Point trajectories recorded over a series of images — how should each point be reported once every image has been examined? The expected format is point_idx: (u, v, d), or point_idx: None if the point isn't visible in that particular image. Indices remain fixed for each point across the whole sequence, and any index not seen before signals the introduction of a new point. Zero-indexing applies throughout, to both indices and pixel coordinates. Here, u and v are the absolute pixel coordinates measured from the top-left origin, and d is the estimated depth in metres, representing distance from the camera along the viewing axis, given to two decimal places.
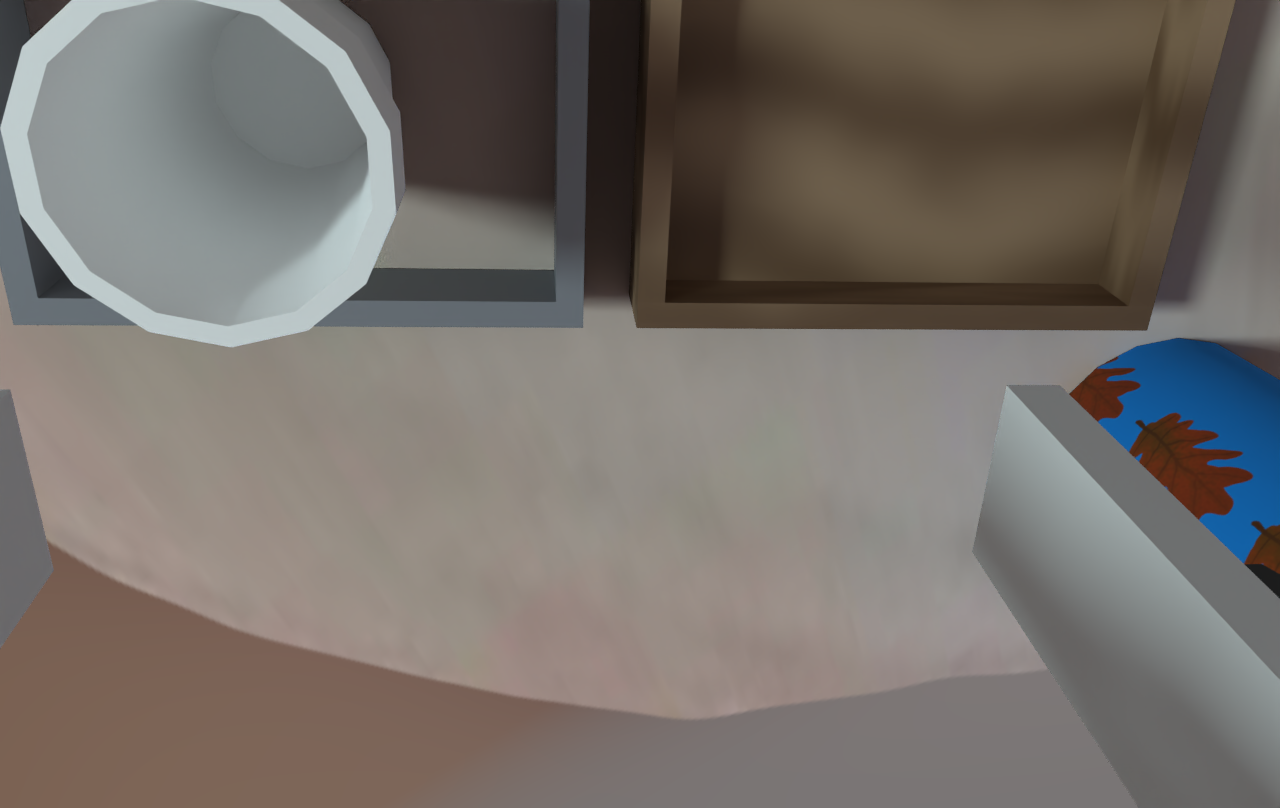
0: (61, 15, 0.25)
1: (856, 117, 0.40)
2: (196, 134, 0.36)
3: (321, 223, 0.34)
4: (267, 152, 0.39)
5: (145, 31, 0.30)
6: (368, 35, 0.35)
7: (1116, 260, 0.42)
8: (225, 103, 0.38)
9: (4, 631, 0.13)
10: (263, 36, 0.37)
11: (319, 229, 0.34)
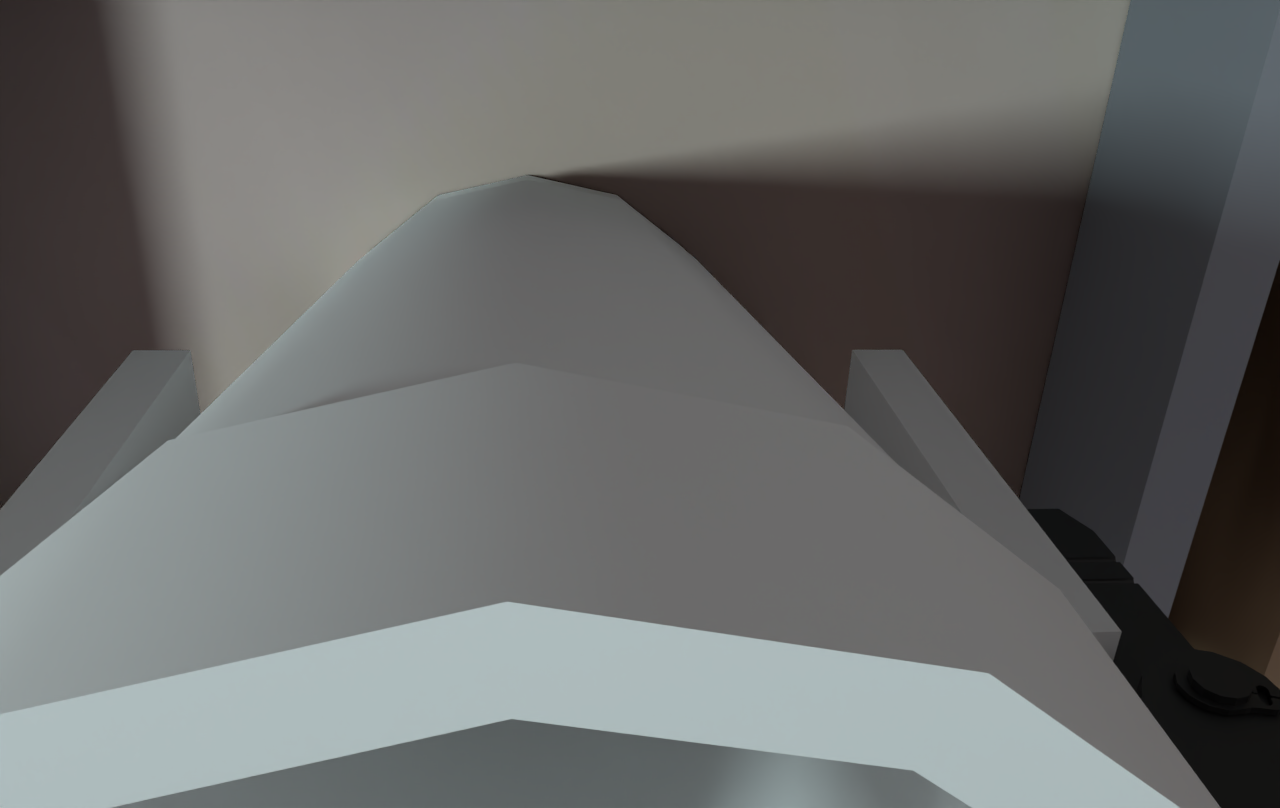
0: None
1: None
2: None
3: None
4: None
5: None
6: None
7: None
8: None
9: None
10: None
11: None
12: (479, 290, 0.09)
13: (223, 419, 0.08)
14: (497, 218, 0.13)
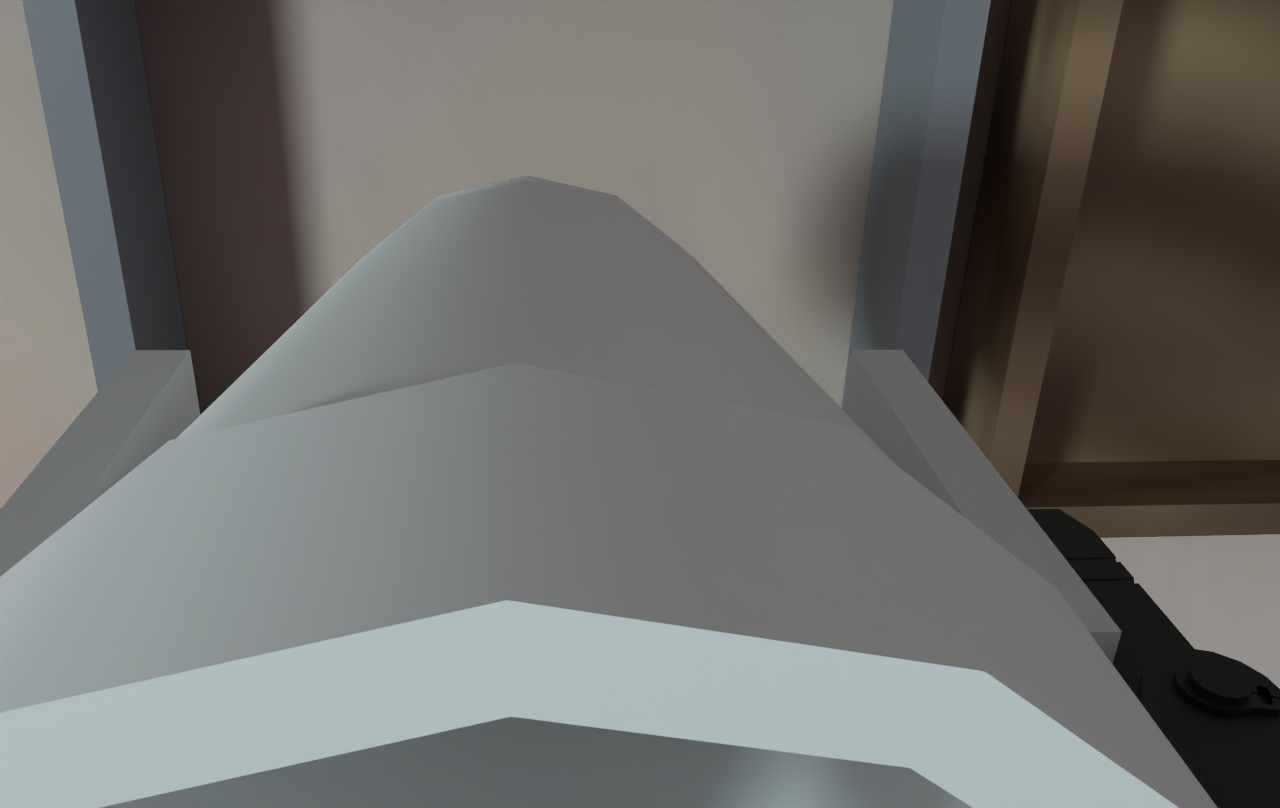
0: None
1: (1272, 252, 0.29)
2: None
3: None
4: None
5: None
6: None
7: None
8: None
9: None
10: None
11: None
12: (479, 289, 0.09)
13: (224, 419, 0.08)
14: (497, 219, 0.13)
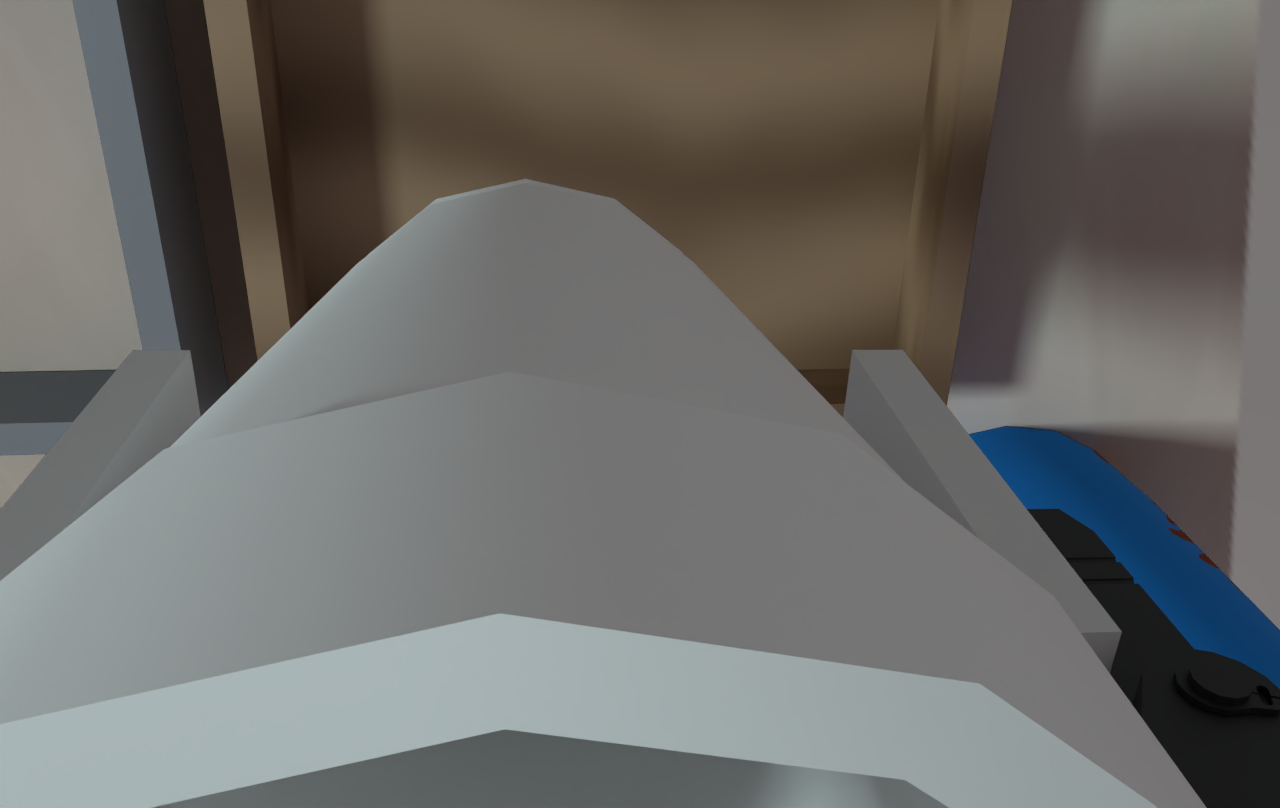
0: None
1: (545, 171, 0.31)
2: None
3: None
4: None
5: None
6: None
7: (903, 341, 0.33)
8: None
9: None
10: None
11: None
12: (475, 296, 0.09)
13: (220, 426, 0.08)
14: (495, 223, 0.13)
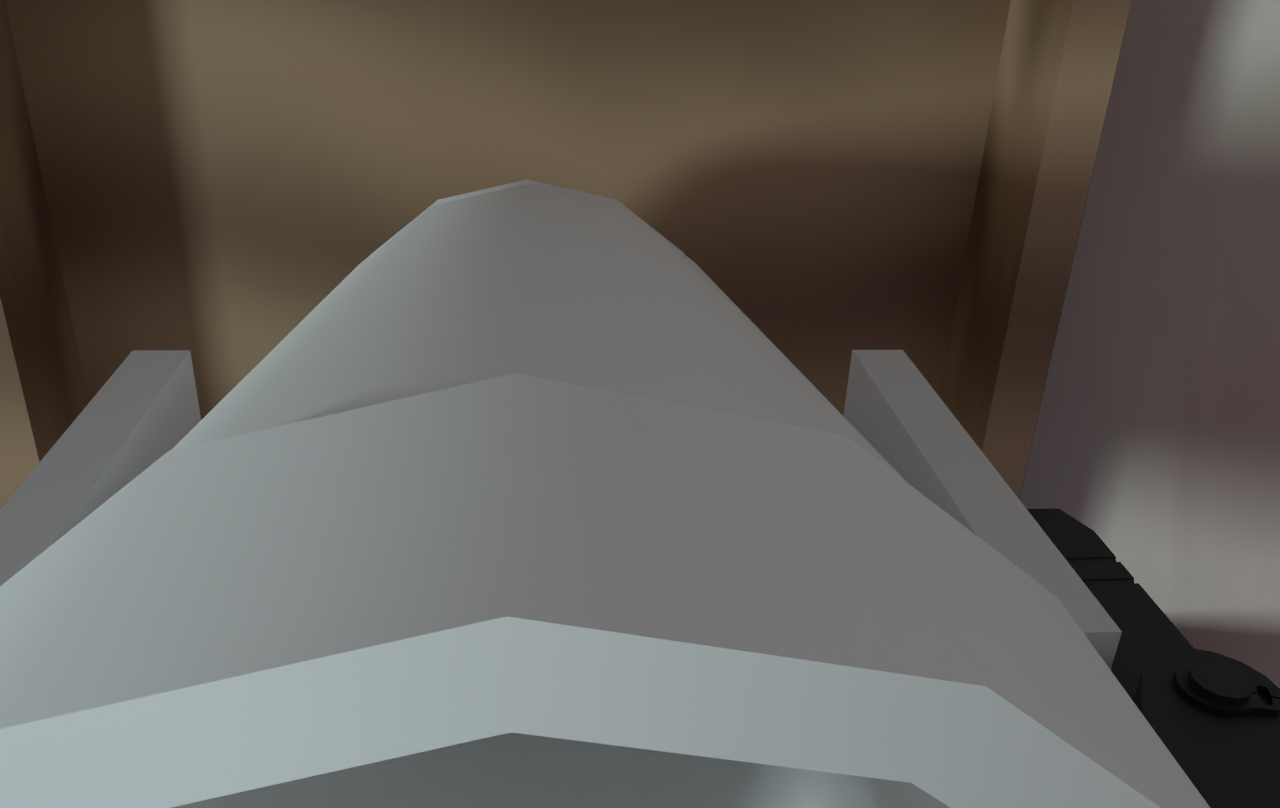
0: None
1: None
2: None
3: None
4: None
5: None
6: None
7: None
8: None
9: None
10: None
11: None
12: (479, 297, 0.09)
13: (223, 428, 0.08)
14: (497, 224, 0.13)
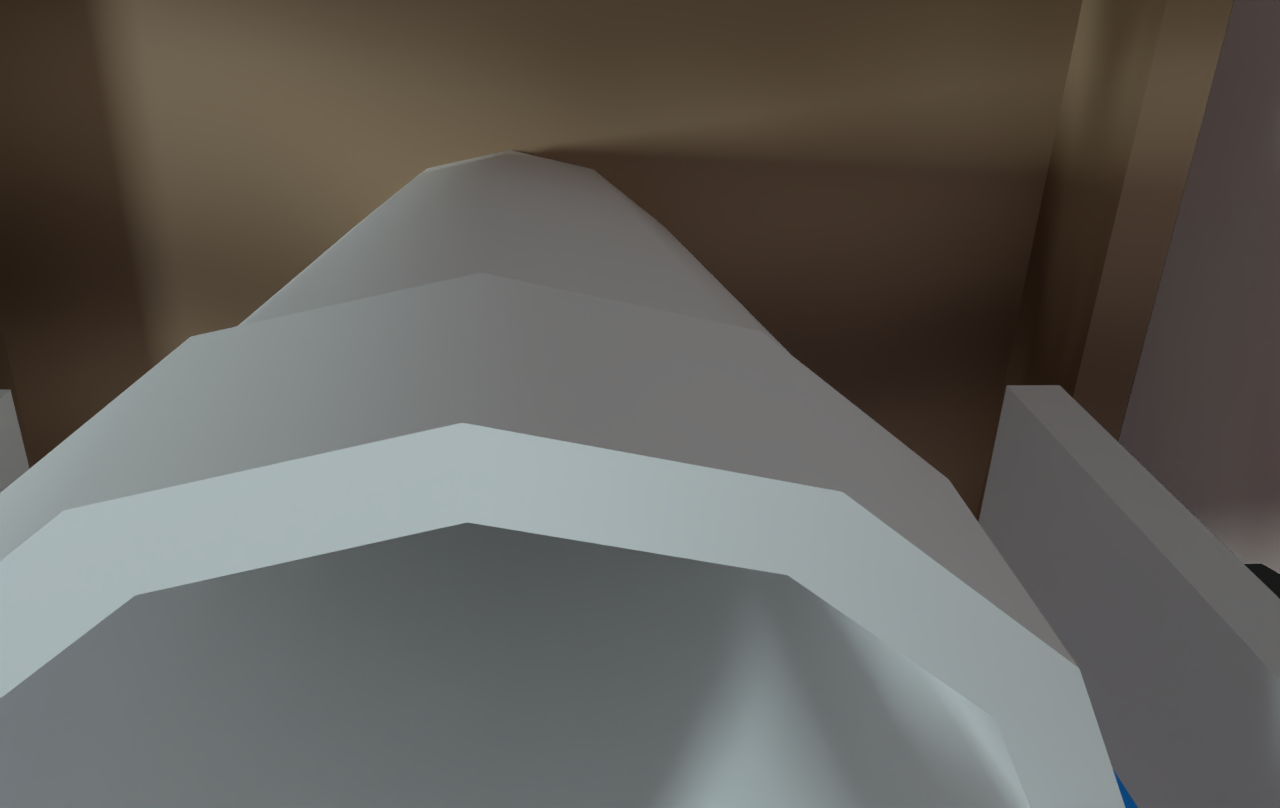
0: None
1: None
2: None
3: (621, 730, 0.15)
4: None
5: None
6: None
7: None
8: None
9: None
10: None
11: (627, 758, 0.14)
12: (458, 234, 0.11)
13: None
14: (479, 183, 0.14)
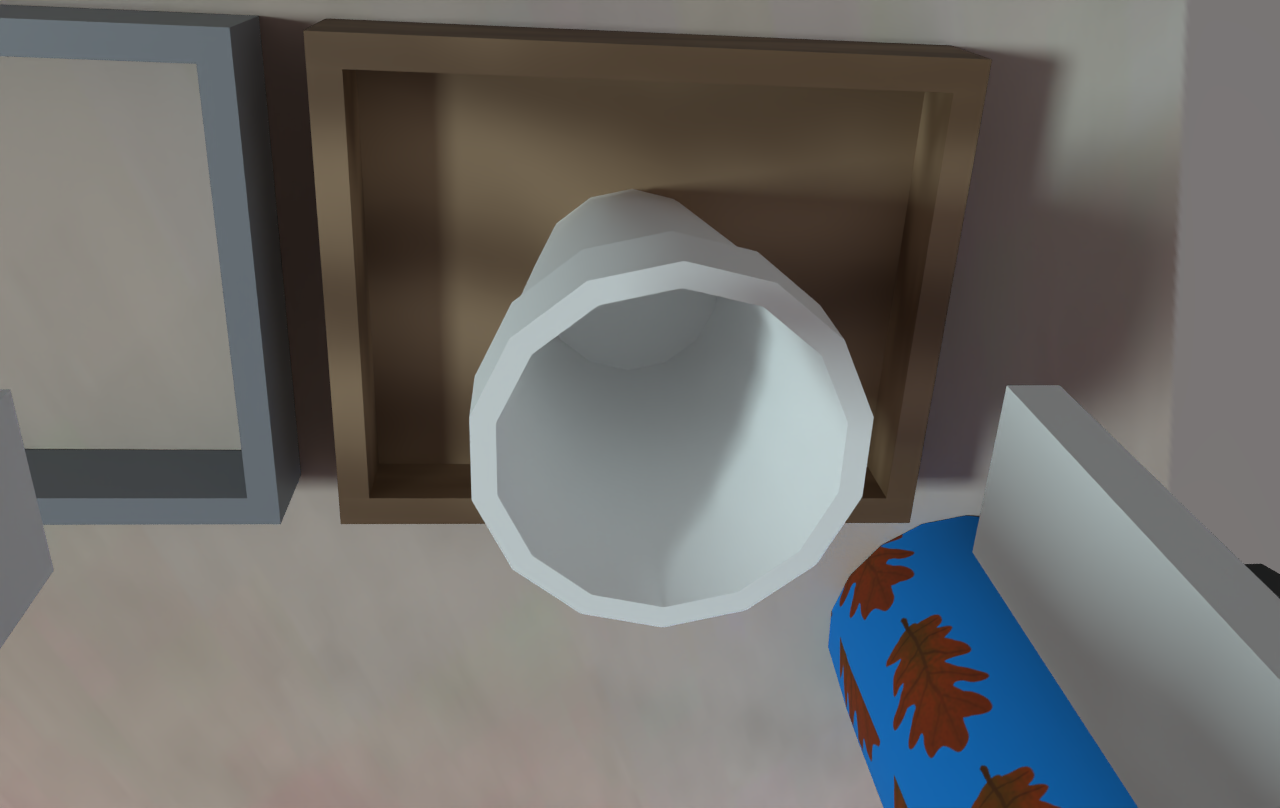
0: (557, 307, 0.23)
1: None
2: (543, 350, 0.34)
3: (692, 456, 0.32)
4: (588, 354, 0.37)
5: None
6: None
7: (878, 445, 0.39)
8: None
9: (4, 631, 0.13)
10: None
11: (695, 465, 0.32)
12: (642, 223, 0.28)
13: None
14: (632, 204, 0.32)
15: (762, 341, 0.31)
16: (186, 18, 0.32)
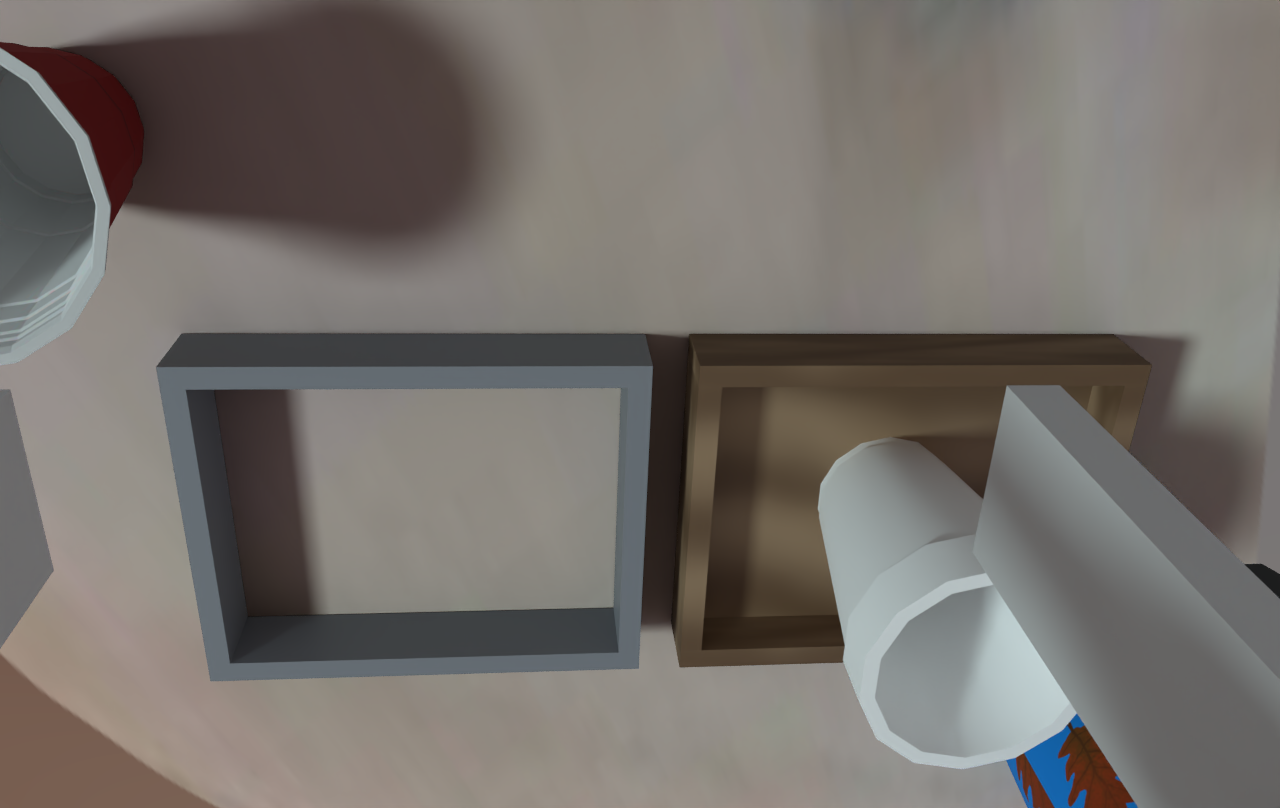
0: (927, 596, 0.39)
1: None
2: None
3: (949, 636, 0.48)
4: None
5: None
6: None
7: None
8: None
9: (4, 631, 0.13)
10: None
11: (954, 644, 0.47)
12: (940, 505, 0.43)
13: (912, 537, 0.42)
14: (910, 468, 0.47)
15: None
16: (610, 348, 0.47)
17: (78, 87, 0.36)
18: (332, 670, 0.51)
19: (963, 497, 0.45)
